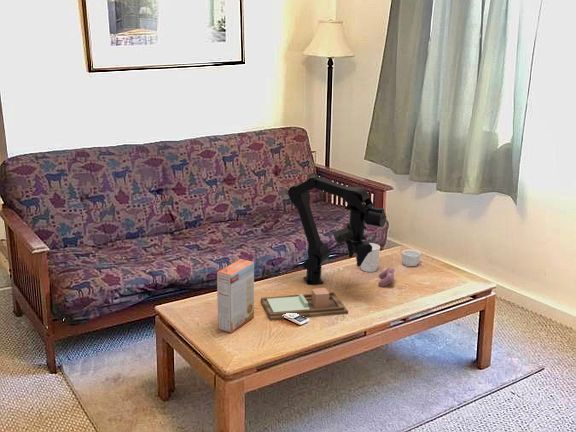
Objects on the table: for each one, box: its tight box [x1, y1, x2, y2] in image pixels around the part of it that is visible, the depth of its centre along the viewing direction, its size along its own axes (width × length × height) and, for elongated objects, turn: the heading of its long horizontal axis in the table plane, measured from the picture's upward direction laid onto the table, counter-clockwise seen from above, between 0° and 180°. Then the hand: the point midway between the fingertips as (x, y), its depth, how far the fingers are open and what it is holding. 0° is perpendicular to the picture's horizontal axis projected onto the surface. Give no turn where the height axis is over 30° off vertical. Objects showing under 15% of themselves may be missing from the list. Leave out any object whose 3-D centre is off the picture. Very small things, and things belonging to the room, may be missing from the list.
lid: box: [267, 293, 310, 313], centre depth 243 cm, size 11×13×2 cm
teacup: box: [401, 249, 422, 267], centre depth 287 cm, size 10×8×5 cm
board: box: [260, 291, 349, 321], centre depth 245 cm, size 16×28×2 cm, turn 104°
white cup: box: [360, 242, 381, 273], centre depth 280 cm, size 8×8×10 cm
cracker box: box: [216, 258, 255, 334], centre depth 228 cm, size 14×6×21 cm, turn 150°
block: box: [311, 287, 329, 309], centre depth 246 cm, size 5×5×6 cm
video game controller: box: [378, 266, 395, 288], centre depth 268 cm, size 10×5×7 cm, turn 171°
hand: (354, 261), depth 256 cm, fingers open, 9 cm apart
